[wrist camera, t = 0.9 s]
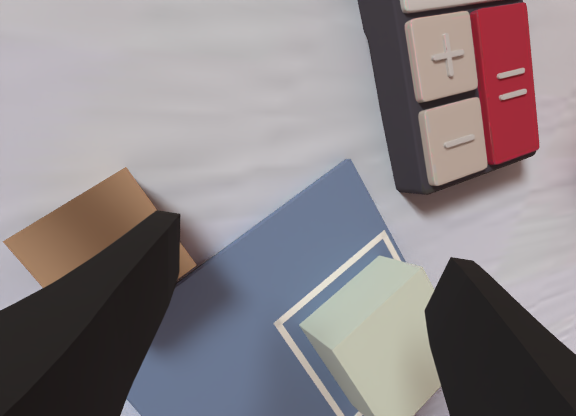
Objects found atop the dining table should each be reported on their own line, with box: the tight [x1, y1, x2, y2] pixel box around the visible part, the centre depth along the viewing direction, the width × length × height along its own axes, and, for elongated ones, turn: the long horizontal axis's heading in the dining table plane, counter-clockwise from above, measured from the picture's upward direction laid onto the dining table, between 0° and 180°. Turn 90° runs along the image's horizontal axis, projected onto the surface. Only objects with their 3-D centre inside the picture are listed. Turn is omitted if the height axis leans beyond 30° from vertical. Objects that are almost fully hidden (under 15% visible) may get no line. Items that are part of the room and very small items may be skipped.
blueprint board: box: [127, 159, 405, 416], centre depth 25 cm, size 18×16×1 cm
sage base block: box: [299, 255, 441, 416], centre depth 24 cm, size 7×7×4 cm
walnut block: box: [3, 167, 197, 288], centre depth 18 cm, size 5×5×5 cm
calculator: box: [358, 0, 539, 194], centre depth 27 cm, size 11×4×15 cm
